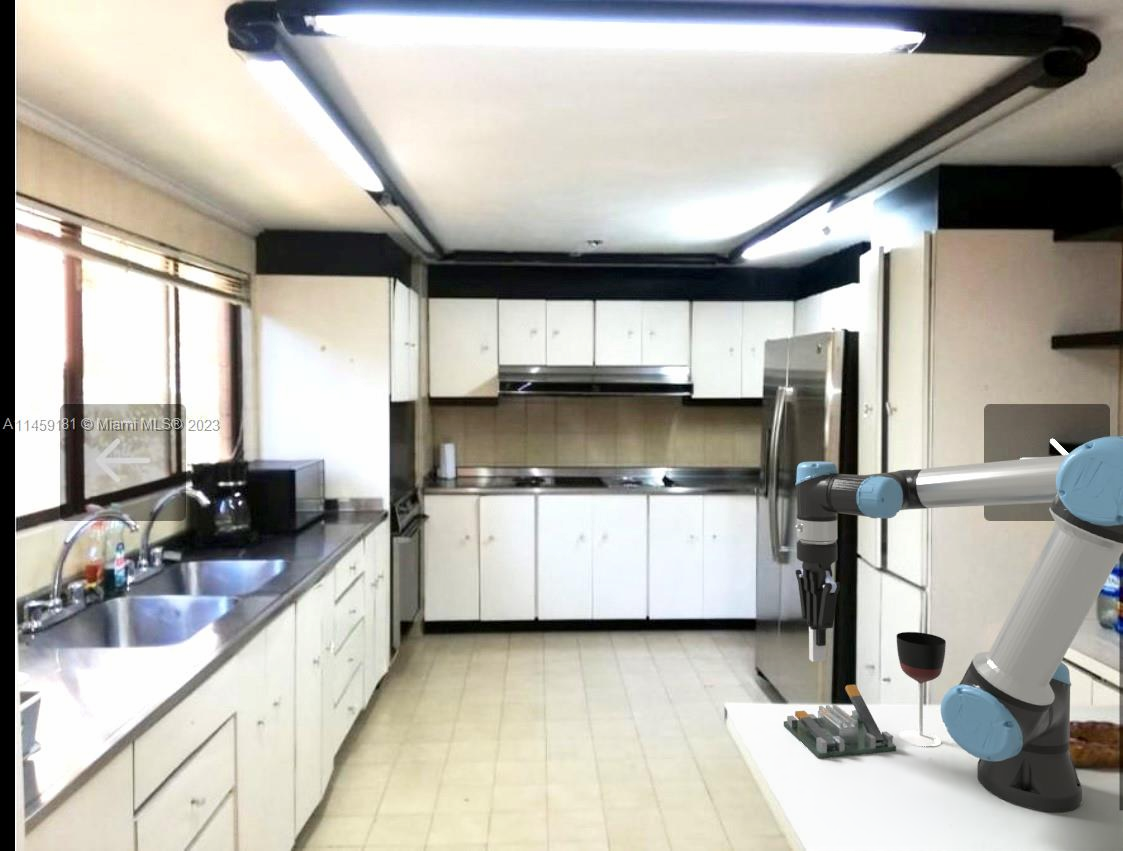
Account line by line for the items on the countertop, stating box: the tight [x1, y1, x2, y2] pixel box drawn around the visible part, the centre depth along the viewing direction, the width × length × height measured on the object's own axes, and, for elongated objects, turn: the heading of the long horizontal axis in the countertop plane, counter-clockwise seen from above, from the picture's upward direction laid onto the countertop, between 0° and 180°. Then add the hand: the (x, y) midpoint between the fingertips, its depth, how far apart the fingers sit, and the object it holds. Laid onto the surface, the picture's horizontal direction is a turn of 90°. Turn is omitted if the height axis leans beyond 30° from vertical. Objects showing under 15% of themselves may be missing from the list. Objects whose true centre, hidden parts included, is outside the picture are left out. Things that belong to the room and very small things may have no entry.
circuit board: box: [783, 704, 897, 760], centre depth 143 cm, size 14×16×5 cm
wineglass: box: [896, 631, 947, 748], centre depth 142 cm, size 8×9×20 cm
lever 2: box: [844, 684, 884, 743], centre depth 143 cm, size 12×2×1 cm
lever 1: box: [794, 710, 835, 749], centre depth 142 cm, size 12×2×1 cm, turn 9°
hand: (817, 660), depth 141 cm, fingers closed
